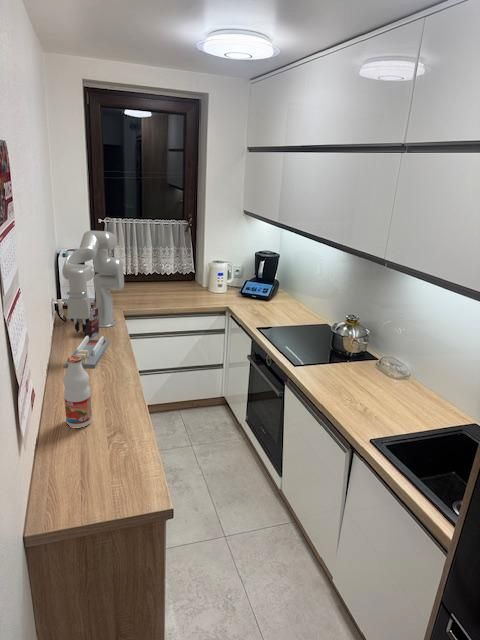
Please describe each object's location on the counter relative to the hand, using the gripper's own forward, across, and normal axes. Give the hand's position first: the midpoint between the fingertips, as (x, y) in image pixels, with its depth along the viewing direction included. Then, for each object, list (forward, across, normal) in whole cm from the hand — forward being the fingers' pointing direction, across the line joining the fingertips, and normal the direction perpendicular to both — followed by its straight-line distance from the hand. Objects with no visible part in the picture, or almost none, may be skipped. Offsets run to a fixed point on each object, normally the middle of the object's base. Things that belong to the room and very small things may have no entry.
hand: (81, 330), depth 212 cm
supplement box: (+17, -5, +35) cm, 39 cm away
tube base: (+17, 0, +10) cm, 20 cm away
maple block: (+15, 0, -2) cm, 15 cm away
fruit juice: (+18, +13, -51) cm, 56 cm away
